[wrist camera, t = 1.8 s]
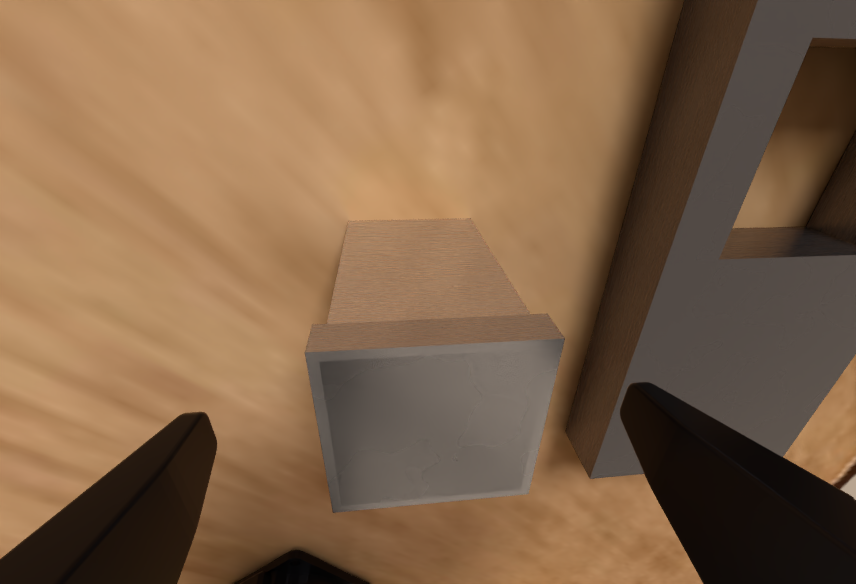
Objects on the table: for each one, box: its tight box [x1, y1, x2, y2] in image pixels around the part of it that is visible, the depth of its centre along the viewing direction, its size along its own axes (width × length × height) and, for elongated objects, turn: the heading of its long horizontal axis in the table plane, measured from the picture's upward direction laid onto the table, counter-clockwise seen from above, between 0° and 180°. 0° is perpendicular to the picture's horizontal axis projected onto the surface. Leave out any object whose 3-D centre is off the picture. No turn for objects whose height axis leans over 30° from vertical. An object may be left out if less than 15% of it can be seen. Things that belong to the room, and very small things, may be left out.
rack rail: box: [566, 0, 856, 479], centre depth 12 cm, size 26×9×2 cm, turn 179°
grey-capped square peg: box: [305, 218, 565, 513], centre depth 11 cm, size 4×4×7 cm
